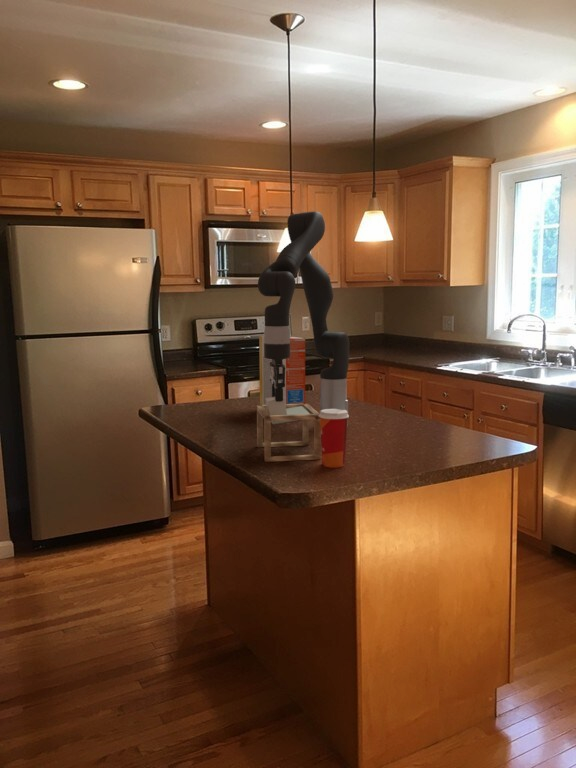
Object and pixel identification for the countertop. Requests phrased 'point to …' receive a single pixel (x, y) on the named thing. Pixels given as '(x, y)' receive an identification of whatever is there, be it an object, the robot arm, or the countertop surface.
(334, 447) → the coffee cup
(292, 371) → the cereal box
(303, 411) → the trapdoor
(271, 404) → the white cube
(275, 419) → the frame
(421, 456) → the countertop surface
